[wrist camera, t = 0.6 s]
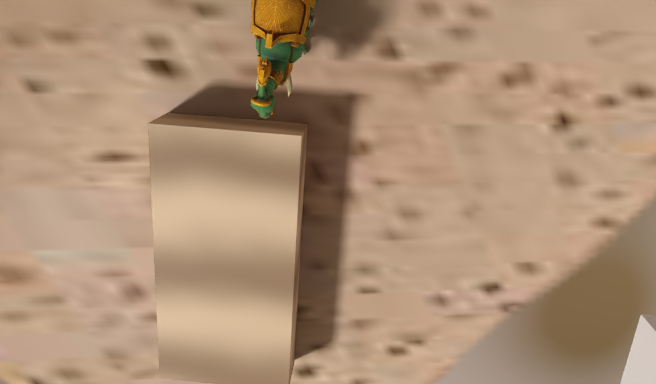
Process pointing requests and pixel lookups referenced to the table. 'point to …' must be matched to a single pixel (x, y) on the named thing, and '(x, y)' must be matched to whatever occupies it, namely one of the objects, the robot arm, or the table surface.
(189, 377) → the beige rectangular block
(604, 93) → the table surface
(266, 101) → the figurine
